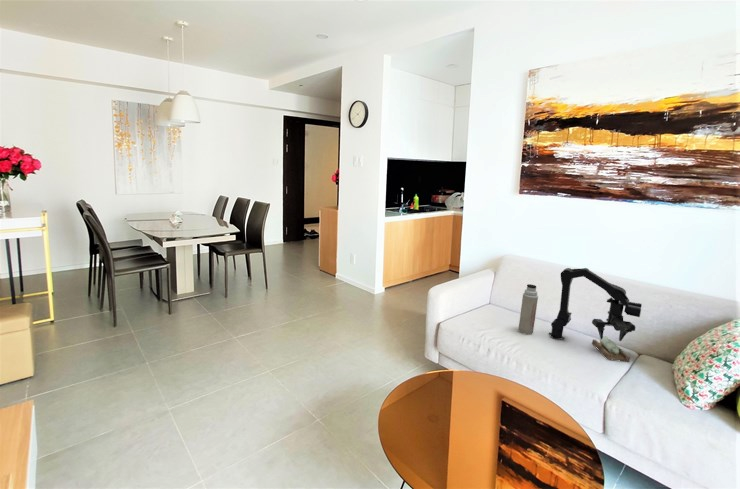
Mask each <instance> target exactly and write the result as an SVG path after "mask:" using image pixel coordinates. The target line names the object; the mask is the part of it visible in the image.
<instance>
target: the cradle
mask: <svg viewBox="0 0 740 489" xmlns="http://www.w3.org/2000/svg"><path fill="white" fill-rule="evenodd" d="M591 344H592V345H593V346H594V347H595V348H596V347H597V348H598V349H599V350H600V351H601V353H602V354H603V355H604V356H605V357H606V358H607V359H613V360H612V361H615V360H620V361H619V362H627V363H629V362H630V356H629V355H628V354H627V353H626V352H625V351H623V350H622V349H621V348H620V347H619V354H612V353H610V352H609V351H608V350H607V349H606V348H605V347H604V346H603V345H602V344H601V343H600V341H599V342H598V341H597V339H592V342H591ZM597 348H596V349H597ZM598 349H597V350H598ZM599 350H598V351H599ZM600 351H599V352H600ZM602 354H601V355H602ZM603 355H602V356H603ZM604 356H603V357H604ZM605 357H604V358H605ZM606 358H605V359H606ZM607 359H606V360H607Z"/></svg>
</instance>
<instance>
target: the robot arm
mask: <svg viewBox="0 0 740 489" xmlns="http://www.w3.org/2000/svg"><path fill="white" fill-rule="evenodd" d="M581 277H584V278H586V279H588V281H589V282H591V283H593V284H595V285H596V286H598V287H599V288H600V289H602V290H604V291H605V292H606V293H607V294H608V295H609V298H607V299H606V302H607V303H610V305H609V311H607V314H608V316H607V318H606V320H605V321H603V320H602V319H601V318H593V319H592V320H591V324H592V325H593V326H594V327H595V328H597V332H598V334H599V338H600V339H602V338H603V337H604V332H605V329H606V327H613V328H614V330H615V331H617V332H619V337H618V340H619V342H622V340H623V339H624V337H626V335H627V334H629V333H632V332H635V331H636V325H635V324H633V322H631V321H626V320H624V316H623V312H624V313H625V314H626V315H627V316H632V317H637V318H640V317H641V312H642V303H639V302H632V301H630V299H629V297H628V296H627V291H626V289H624V287H622V286H619V285H616V284H612V283H610V282H609V281H607V280H606V279H604V278H602V277H601V276H599V275H598V274H596V273H594V272H593V271H592V270H590V269H589V268H587V267H584V268H571V267H567V268H565V269H563V270H561V272H560V282H561V295H560V304H559V311H558V314H557V316H556V318H555V319H553V320H552V322H551V323H550V325H551V326H550V327H551V332H548V334H549V336H550V335H551V336H550V337H551V338H552V337H553V338H552V339H556V338H563V339H562V340H565V337H564V336H563V334H564V333H563V332H564V327H566V326H567V325H568V324H569V323H570V321H571V320H572V318H571V316H572V312H570V310H569V302H570V293H571V285H572V283H573V280H574V279H576V278H581ZM600 339H599V340H600Z"/></svg>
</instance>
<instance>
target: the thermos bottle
mask: <svg viewBox="0 0 740 489" xmlns="http://www.w3.org/2000/svg"><path fill="white" fill-rule="evenodd" d="M538 300H539V295H538V290H537V286H536V285H535V284H526V289H524V292H523V293H522V299H521V307H520V315H519V320H518V321H519V322H518V330H519V331H520V332H519V331H518V330H517V331H518V332H519V333H521V332H522V333H521V334H523V333H525V334H524V335H533V334H534V328H535V322H536V315H537V306H538ZM532 333H533V334H532Z"/></svg>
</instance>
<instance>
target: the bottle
mask: <svg viewBox="0 0 740 489" xmlns="http://www.w3.org/2000/svg"><path fill="white" fill-rule="evenodd" d="M599 343H601V344H602V345H603V346H604V347H605V348H606V349H607V350H608V351H609V352H610V353H612V354H619V348H620V347H619V346H618V345H617V344H616V343H615V342H614V341H613V340H612V339H611V338H609V337H608V336H605V335H603V338H602V339H599Z"/></svg>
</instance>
